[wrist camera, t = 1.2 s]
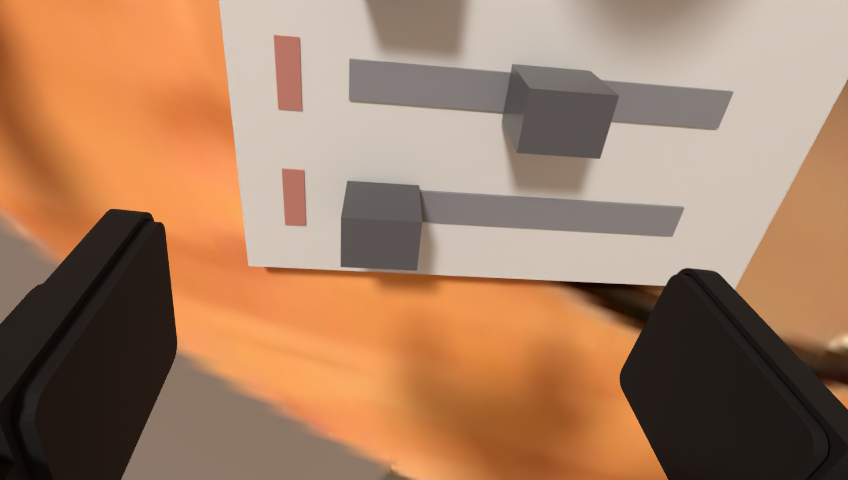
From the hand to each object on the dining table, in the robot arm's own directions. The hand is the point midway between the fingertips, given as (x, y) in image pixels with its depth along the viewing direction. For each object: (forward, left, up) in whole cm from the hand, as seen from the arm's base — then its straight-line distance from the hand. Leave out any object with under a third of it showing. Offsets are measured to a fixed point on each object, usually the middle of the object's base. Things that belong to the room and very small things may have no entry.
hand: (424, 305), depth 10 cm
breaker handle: (-7, +1, -18) cm, 20 cm away
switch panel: (-7, +1, -21) cm, 22 cm away
